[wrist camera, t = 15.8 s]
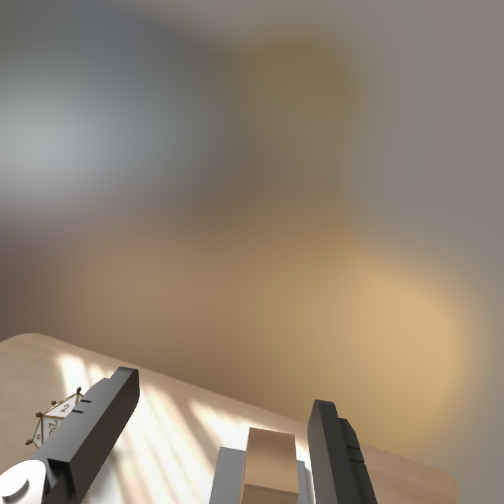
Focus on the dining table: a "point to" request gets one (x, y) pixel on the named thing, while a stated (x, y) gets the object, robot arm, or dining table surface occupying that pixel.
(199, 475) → the dining table surface
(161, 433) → the dining table surface
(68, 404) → the game die
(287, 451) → the walnut block
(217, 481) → the rubber mat
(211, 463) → the dining table surface
